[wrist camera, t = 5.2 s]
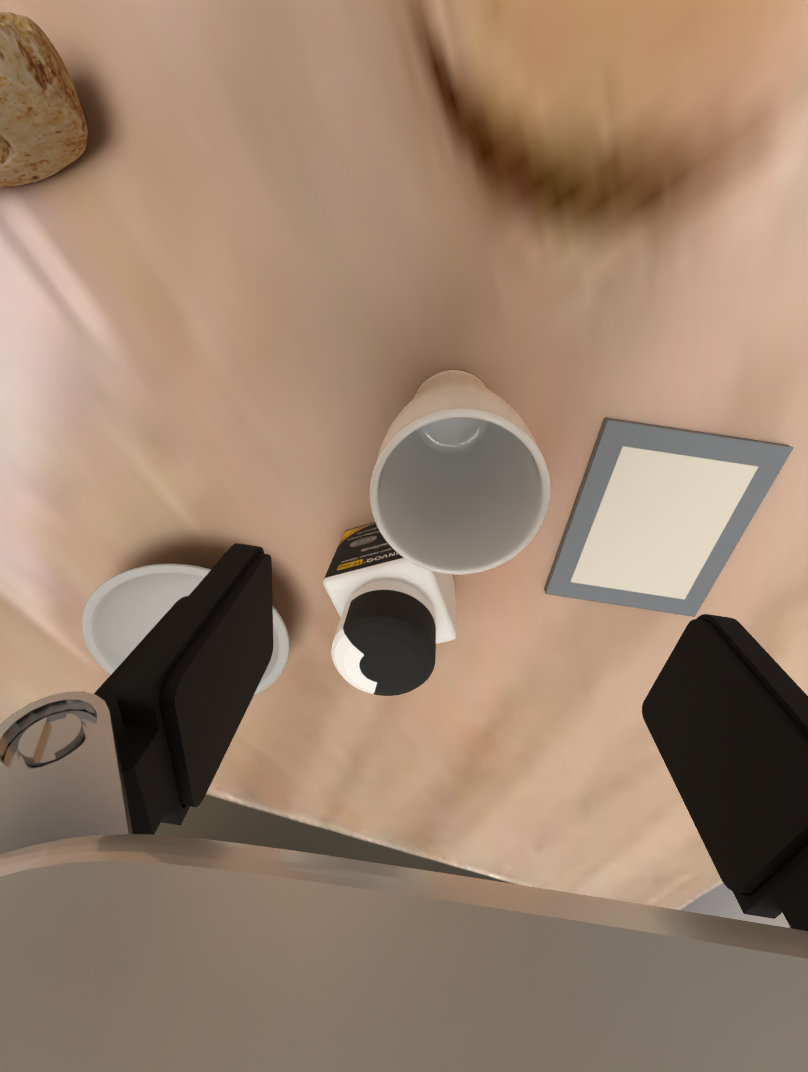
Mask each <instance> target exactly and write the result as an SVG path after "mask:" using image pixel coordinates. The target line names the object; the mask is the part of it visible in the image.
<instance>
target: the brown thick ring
mask: <svg viewBox="0 0 808 1072" xmlns="http://www.w3.org/2000/svg"><path fill="white" fill-rule="evenodd" d="M88 135H89V132H88V129H87V126H86V121H85V118H84V115H83V111H82V108H81V105H80V102H79V99H78V96H77V94H76V91H75V88H74V85H73V83H72V80H71V77H70V75H69V73H68V71H67V69H66V67H65V65H64V62H63V61H62V59H61V57H60V55H59V54H58V52H57V51H56V49H55V47H54V46H53V44H52V43H51V41H50V40H49V39H48V37H47V36H46V35H45V33H44V32H43V31H42V30H41V28H40V27H39V26H38V25H37V24H35V23H34V22H33V21H32V20H31V19H29V18H28V17H26V16H21V15H16V14H13V13H9V12H0V188H2V187H13V186H19V185H24V184H27V183H35V182H37V181H39V180H42V179H44V178H47V177H49V176H51V175H53V174H55V173H57V172H59V171H60V170H62V169H63V168H64V167H66V166H67V165H69V164H70V163H72V162H74V161H75V160H76V159H78V158H79V157H80V156H81V155H82V153H83V152H84V151H85V148H86V143H87V138H88Z"/></svg>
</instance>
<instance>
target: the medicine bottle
mask: <svg viewBox="0 0 808 1072" xmlns="http://www.w3.org/2000/svg"><path fill="white" fill-rule="evenodd" d="M323 584H324V586H325V588H326V590H327V592H328V594H329V596H330V598H331V600H332V602H333V604H334V606H335V608H336V610H337V612H338V614H339V615H340V617H341V619H340V622H339V625H338V628H337V631H336V634H335V637H334V641H333V644H332V652H331V653H332V659H333V662H334V665H335V667H336V669H337V670H338V671H339V673H340V674H341V675H342V676H343V678H344V679H345V680H346V681H348V682H349V683H350V684H351V685H353V686H354V687H356V688H358V689H360V690H362V691H365V692H367V693H371V694H375V695H383V696H393V695H400V694H404V693H407V692H410V691H412V690H414V689H415V688H417V687H419V686H420V685H422V684H423V683H424V682H425V681H426V680H427V679H428V678H429V677H430V675H431V673H432V671H433V669H434V666H435V651H436V644H437V643H442V642H447V641H451V640H454V639H455V638H456V616H455V590H454V579H453V576H452V574H443V573H438V572H434V571H430V570H427V569H424V568H421V567H419V566H417V565H415V564H413V563H411V562H410V561H408V560H406V559H405V558H403V557H402V556H401V555H400V554H398V553H397V552H396V551H395V550H394V549H393V548H392V547H391V546H390V545H389V544H388V543H387V541H386V540H385V539H384V537H383V536H382V534H381V533H380V531H379V529H378V527H377V525H376V523H373V524H370V525H366V526H363V527H359V528H356V529H352V530H349V531H346V532H344V534H343V536H342V539H341V541H340V543H339V545H338V548H337V550H336V552H335V555H334V557H333V559H332V562H331V564H330V566H329V569H328V571H327V573H326V576H325V578H324V580H323Z"/></svg>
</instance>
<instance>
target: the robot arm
mask: <svg viewBox="0 0 808 1072" xmlns="http://www.w3.org/2000/svg"><path fill="white" fill-rule="evenodd" d="M272 653H273V604H272V564H271V556H270V555H267V554H264V551H263V548H262V547H258V546H251V545H245V544H238V543H236V544H234V545H232V546H231V548H230V549H229V550H228V551H227V552H226V553H225V555H224V556H223V557H222V558H221V559H220V560H219V561H218V563H217V564H216V565H215V566H214V567H213V568H212V569H211V571H210V572H209V573H208V574H207V575H206V576H205V577H204V579H203V580H202V581H201V582H200V583H199V584H198V585H197V587H196V588H195V589H194V590H193V591H192V592H191V593H190V595H189V596H185V597H182V598H180V599H179V600H178V601H177V602H176V603H175V604H174V605H173V606H172V607H171V608H170V610H169V611H168V612H167V613H166V614H165V615H164V616H163V617H162V618H161V620H160V621H159V622H158V623H157V624H156V625H155V626H154V627H153V629H152V630H151V631H150V632H149V633H148V634H147V635H146V636H145V637H144V639H143V640H142V641H141V642H140V643H139V644H138V645H137V646H136V648H135V649H134V650H133V651H132V652H131V653H130V654H129V655H128V656H127V658H126V659H125V660H124V661H123V662H122V663H121V664H120V665H119V667H118V668H117V669H116V670H115V671H114V672H113V673H112V674H111V675H110V677H109V678H108V679H107V680H106V681H105V682H104V683H103V684H102V685H101V687H100V688H99V689H98V690H97V691H96V692H95V693H94V694H91V693H87V692H65V693H60V694H56V695H51V696H48V697H45V698H43V699H40V700H38V701H35V702H33V703H30V704H29V705H27V706H25V707H24V708H22V709H20V710H18V711H17V712H15V713H13V714H12V715H11V716H10V717H8V718H7V719H6V720H5V721H4V722H3V723H1V724H0V1072H808V696H807V695H806V694H805V693H804V692H803V691H802V690H801V688H800V687H799V686H798V685H797V684H796V683H795V682H794V681H793V680H792V679H791V678H790V677H789V676H788V675H787V673H786V672H785V671H784V670H783V669H782V668H781V667H780V666H779V665H778V664H777V663H776V662H775V661H774V659H773V658H772V657H771V656H770V655H769V654H768V653H767V652H766V651H765V650H764V649H763V648H762V647H761V646H760V644H759V643H758V642H757V641H756V640H755V639H754V638H753V637H752V636H751V635H750V634H749V633H748V632H747V630H746V629H745V628H744V627H743V626H742V625H741V624H740V623H739V622H738V621H737V620H735V619H732V618H728V617H721V616H715V615H708V614H704V615H701V616H699V617H698V618H697V619H695V620H692V621H690V622H689V624H688V625H687V627H686V629H685V630H684V632H683V634H682V636H681V637H680V639H679V641H678V643H677V644H676V646H675V648H674V650H673V651H672V653H671V655H670V657H669V658H668V660H667V662H666V664H665V665H664V667H663V669H662V671H661V672H660V674H659V676H658V678H657V679H656V681H655V683H654V685H653V686H652V688H651V690H650V692H649V693H648V695H647V697H646V699H645V700H644V702H643V706H642V714H643V718H644V721H645V723H646V725H647V727H648V729H649V731H650V733H651V735H652V737H653V739H654V741H655V743H656V745H657V748H658V750H659V752H660V754H661V756H662V758H663V760H664V762H665V764H666V766H667V768H668V770H669V772H670V774H671V776H672V778H673V781H674V783H675V785H676V787H677V789H678V791H679V793H680V795H681V797H682V799H683V801H684V803H685V805H686V807H687V809H688V811H689V814H690V816H691V818H692V820H693V822H694V824H695V826H696V828H697V830H698V832H699V834H700V836H701V838H702V840H703V842H704V844H705V847H706V849H707V851H708V853H709V855H710V857H711V859H712V861H713V863H714V865H715V867H716V869H717V871H718V873H719V875H720V878H721V879H722V881H723V883H724V884H725V885H726V886H727V887H728V888H729V889H730V890H732V891H733V893H734V895H735V897H736V899H737V901H738V903H739V905H740V907H741V909H742V911H743V913H744V914H748V915H755V916H761V917H768V918H776V917H777V916H778V915H780V914H781V913H782V912H783V914H784V916H785V918H786V920H787V921H788V923H789V925H790V926H789V928H785V927H779V926H772V925H766V924H760V923H754V922H748V921H742V920H735V919H730V918H723V917H717V916H711V915H705V914H699V913H693V912H687V911H680V910H674V909H668V908H662V907H656V906H649V905H643V904H637V903H630V902H624V901H618V900H611V899H605V898H599V897H592V896H586V895H580V894H573V893H567V892H561V891H554V890H548V889H542V888H535V887H529V886H522V885H516V884H510V883H503V882H496V881H490V880H484V879H477V878H471V877H465V876H458V875H452V874H445V873H439V872H432V871H425V870H419V869H411V868H406V867H399V866H392V865H386V864H379V863H373V862H366V861H359V860H352V859H346V858H340V857H332V856H326V855H320V854H313V853H306V852H300V851H292V850H284V849H277V848H269V847H262V846H254V845H246V844H239V843H231V842H223V841H216V840H209V839H201V838H189V837H176V836H162V835H154V833H155V832H156V830H157V828H158V826H159V824H160V822H163V823H170V824H176V825H181V823H182V822H183V819H184V817H185V816H186V814H187V812H188V810H189V807H190V806H192V807H197V806H199V805H200V803H201V802H202V800H203V798H204V796H205V795H206V793H207V790H208V788H209V786H210V784H211V782H212V780H213V778H214V776H215V774H216V772H217V770H218V768H219V766H220V764H221V762H222V759H223V757H224V755H225V753H226V751H227V749H228V747H229V745H230V743H231V741H232V739H233V737H234V735H235V733H236V731H237V728H238V726H239V724H240V722H241V720H242V718H243V716H244V714H245V712H246V710H247V708H248V706H249V704H250V702H251V700H252V697H253V695H254V693H255V691H256V689H257V687H258V685H259V683H260V681H261V679H262V677H263V675H264V673H265V671H266V669H267V666H268V664H269V662H270V660H271V657H272Z"/></svg>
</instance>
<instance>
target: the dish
mask: <svg viewBox="0 0 808 1072" xmlns="http://www.w3.org/2000/svg"><path fill="white" fill-rule="evenodd" d="M210 571H211V569H208V568H204V567H199V566H194V565H186V564H153V565H147V566H141V567H137V568H133V569H130V570H127V571H125V572H122V573H120V574H118V575H116V576H114V577H112V578H110V579H109V580H107V581H106V582H104V583H103V584H102V585H101V586H99V587H98V588H97V589H96V590H95V591H94V593H93V594H92V595H91V597H90V598H89V600H88V602H87V604H86V605H85V608H84V611H83V616H82V632H83V636H84V640H85V643H86V645H87V647H88V649H89V651H90V653H91V654H92V656H93V657H94V659H95V660H96V661H97V662H98V663H99V665H100V666H101V667H102V668H103V669H104V670H105V671H106V672H108V673H109V674H110V675H111V674H112V673H113V672H114V671H115V670H116V669H117V668H118V667H119V665H120V664H121V663H122V662H123V661H124V660H125V659H126V658H127V656H128V655H129V654H130V653H131V652H132V651H133V650H134V649H135V648H136V646H137V645H138V644H139V643H140V642H141V641H142V640H143V639H144V637H145V636H146V635H147V634H148V633H149V632H150V631H151V630H152V629H153V627H154V626H155V625H156V624H157V623H158V622H159V621H160V620H161V618H162V617H163V616H164V615H165V614H166V613H167V612H168V611H169V610H170V608H171V607H172V606H173V605H174V604H175V603H176V602H177V601H178V600H179V599H180V598H182V597H185V596H189V595H190V593H191V592H192V591H193V590H194V589H195V588H196V587H197V585H198V584H199V583H200V582H201V581H202V580H203V579H204V577H205V576H206V575H207V574H208V573H209V572H210ZM289 649H290V642H289V635H288V631H287V628H286V625H285V623H284V621H283V619H282V617H281V616H280V614H279V613H278V611H277V610H276V609H275V608H274V606H273V653H272V657H271V660H270V662H269V664H268V666H267V669H266V671H265V673H264V675H263V677H262V679H261V681H260V683H259V685H258V687H257V689H256V691H255V693H254V695H256V694H258V693H260V692H261V691H263V690H264V689H266V688H267V687H268V686H270V685H271V684H272V683H273V682H274V681H275V680H276V679H277V678H278V677H279V675H280V674H281V673H282V671H283V669H284V667H285V666H286V663H287V660H288V656H289ZM254 695H253V696H254Z"/></svg>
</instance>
